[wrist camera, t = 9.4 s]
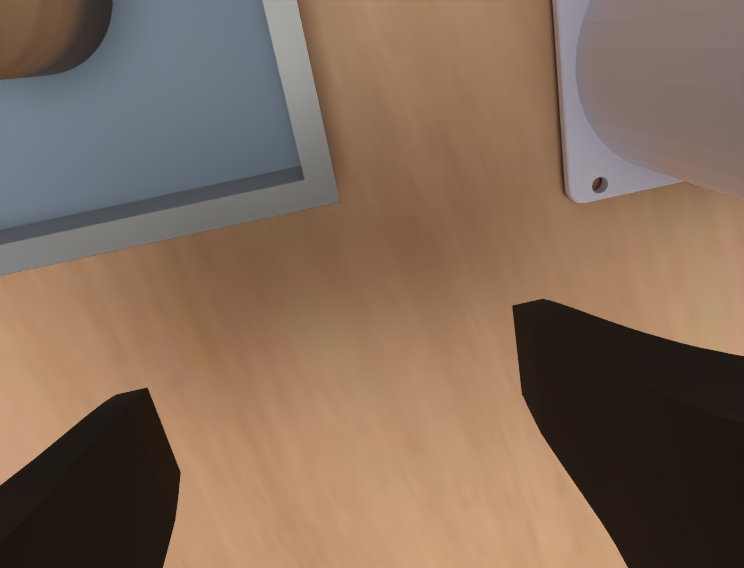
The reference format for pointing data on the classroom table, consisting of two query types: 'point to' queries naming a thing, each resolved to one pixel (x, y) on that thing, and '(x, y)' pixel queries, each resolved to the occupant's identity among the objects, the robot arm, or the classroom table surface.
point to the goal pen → (163, 133)
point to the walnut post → (49, 35)
